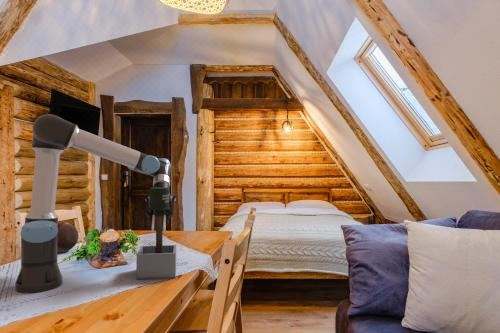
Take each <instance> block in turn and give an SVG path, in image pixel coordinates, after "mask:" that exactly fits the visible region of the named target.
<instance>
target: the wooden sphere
mask: <svg viewBox="0 0 500 333" xmlns="http://www.w3.org/2000/svg"><path fill="white" fill-rule="evenodd" d="M57 228H58V233H57V253H66V252H68V251H70V250H72V249H73V248H74V247H75V246H76V245H77V242H78V241H79V232H78V229H77V228H76V226H74V225H73V224H71V223H69V222H58V225H57Z"/></svg>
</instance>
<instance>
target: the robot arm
mask: <svg viewBox="0 0 500 333" xmlns="http://www.w3.org/2000/svg"><path fill="white" fill-rule="evenodd" d="M31 142H32V144H31V149H32V151H34V152H35V157H34V168H33V177H32V178H33V179H32V190H31V192H32V193H31V202H30V208H29V209H30V211H29V213H27V214H26V215H25V218H24V224H23V225H22V227H21V230H20V237H21V238H20V240H21V241H20V246H21V247H20V248H21V249H20V270H19V271H18V274H17V278H16V281H15V284H14V290H15V291H16V292H19V293H22V294H23V293H25V294H26V293H27V294H28V293H39V292H40V293H41V292H44V291H45V292H46V291H49V290H53V289H56V288H58V287H60V286H61V285H62V284H63V275H62V273H61V269H60V267H59V265H58V252H57V233H58V228H57V225H58V223H59V216H58V214H56V211H55V210H56V209H55V208H56V201H57V189H58V188H57V187H58V178H59V166H60V158H61V157H60V156H61V154H63V153H64V152H65V148H67V149H69V148H74V149H77V150H80V151H83V152H86V153H88V154H91V155H94V156H97V157H100V158H101V159H106V160H108V161H111V162H114V163H117V164H120V165H123V166H125V167H127V168H128V169H129V170H132V171H133V172H136V173H140V174H144V175H147V176H151V177H153V178H152V179H153V182H152V188H153V187H167V188H169V200H170V202H171V203H170V209H169V210H164V214H163V232H166V227H167V226H166V225H167V224H169V223H170V222H169V221H170V218H172V217H174V212H175V211H174V210H175V203H176V201H177V196H176V195H171V192H170V191H171V190H170V189H171V171H172V166H171V162H170V160H169V159H168V158H165V157H164V158H163V157H162V158H161V157H160V158H157V156H154V155H152V154H149V155H148V154H146V153H144V152H141V151H138V150H136V149H133V148H130V147H128V146H125V145H123V144H120V143H117V142H115V141H112V140H110V139H106V138H104V137H102V136H99V135H96V134H94V133H91V132H88V131H86V130H83V129H80V128H79V127H78V124H76V123H72V122H71V121H68V120H65V119H64V118H62V117H60V116H58V115H56V114H55V115H54V114H49V113H48V114H47V113H46V114H42V115H40V116H38V117H37V118H36V119H35V120H34V122H33V125H32V141H31ZM144 200H145V217H146V218H149V224H150V225H151V232H152V233H155V226H156V224H155V210H149V208H150V195H149V196H148V195H145V196H144Z"/></svg>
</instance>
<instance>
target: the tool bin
mask: <svg viewBox="0 0 500 333" xmlns="http://www.w3.org/2000/svg"><path fill="white" fill-rule="evenodd" d="M162 246H163V253H155V248H156V245H141V246H140V248H139V249H138V251H137V252H136V275H135V276H136V277H135V278H136V281H144V280H165V279H176V276H177V275H176V273H177V244H164V245H163V244H162Z"/></svg>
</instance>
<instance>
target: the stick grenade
mask: <svg viewBox="0 0 500 333" xmlns="http://www.w3.org/2000/svg"><path fill="white" fill-rule="evenodd" d="M149 196H150V202H149V211H151V210H155V214H154V215H155V246H156V248H155V253H163V246H162V245H163V241H164V240H163V235H164V234H163V232H164V231H163V224H164V213H165V210H168V211H170V209H171V206H170V199H169V188H167V187H153V186H152V187H150V188H149Z"/></svg>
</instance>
